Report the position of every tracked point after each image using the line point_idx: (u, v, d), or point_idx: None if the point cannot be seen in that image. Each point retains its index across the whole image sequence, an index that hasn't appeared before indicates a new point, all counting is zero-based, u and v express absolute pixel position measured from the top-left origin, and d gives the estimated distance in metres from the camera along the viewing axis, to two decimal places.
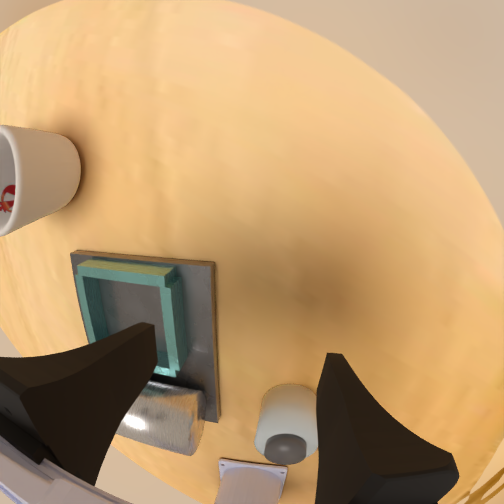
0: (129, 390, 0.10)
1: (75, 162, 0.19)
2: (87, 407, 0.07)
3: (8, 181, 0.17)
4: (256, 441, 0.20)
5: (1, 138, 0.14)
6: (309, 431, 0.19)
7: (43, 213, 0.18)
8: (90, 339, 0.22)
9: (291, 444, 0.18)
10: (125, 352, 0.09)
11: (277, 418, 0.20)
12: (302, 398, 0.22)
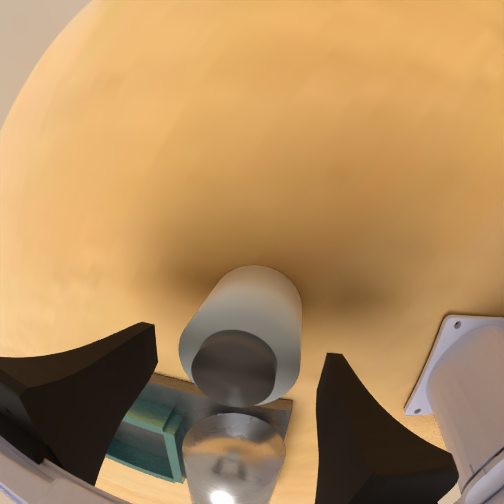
0: (129, 390, 0.10)
1: None
2: (87, 407, 0.07)
3: None
4: None
5: None
6: (189, 323, 0.11)
7: None
8: (163, 478, 0.19)
9: (193, 364, 0.10)
10: (125, 352, 0.09)
11: None
12: None
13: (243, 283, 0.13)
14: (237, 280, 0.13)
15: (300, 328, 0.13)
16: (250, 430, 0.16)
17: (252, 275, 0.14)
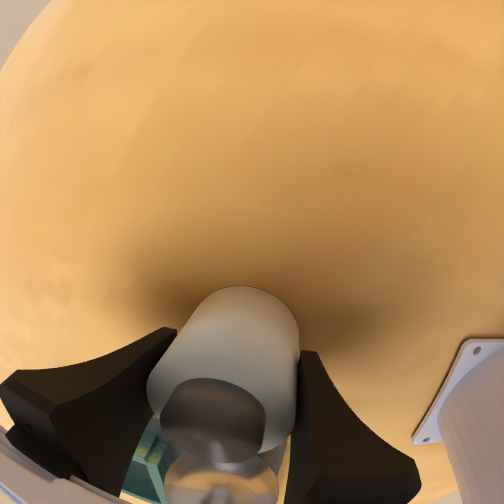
0: None
1: None
2: (114, 418, 0.07)
3: None
4: None
5: None
6: (155, 366, 0.08)
7: None
8: (150, 502, 0.16)
9: (162, 417, 0.08)
10: (150, 359, 0.09)
11: None
12: None
13: (225, 313, 0.10)
14: (218, 309, 0.11)
15: (296, 368, 0.10)
16: (240, 465, 0.13)
17: (237, 301, 0.11)
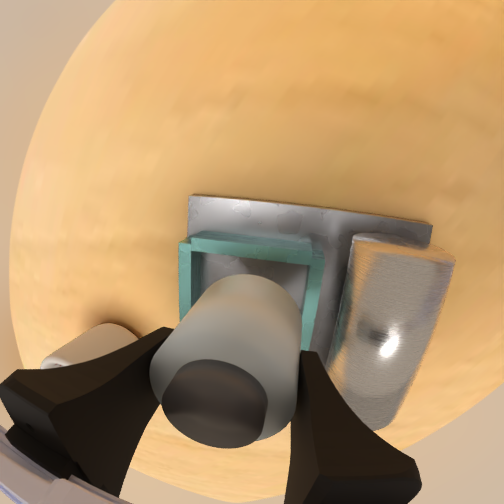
0: (152, 397, 0.10)
1: (104, 325, 0.22)
2: (113, 418, 0.07)
3: None
4: None
5: None
6: (163, 344, 0.09)
7: None
8: None
9: (164, 396, 0.08)
10: (150, 359, 0.09)
11: None
12: None
13: (236, 298, 0.10)
14: (229, 294, 0.11)
15: (299, 359, 0.10)
16: (406, 240, 0.16)
17: (248, 289, 0.11)
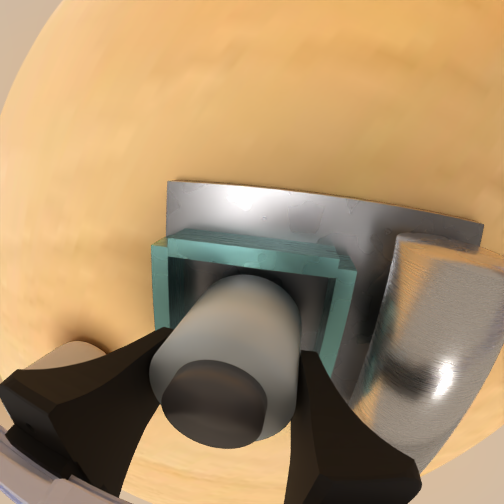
0: (152, 397, 0.10)
1: (73, 344, 0.17)
2: (114, 418, 0.07)
3: None
4: None
5: None
6: (163, 344, 0.09)
7: None
8: None
9: (164, 396, 0.08)
10: (150, 359, 0.09)
11: None
12: None
13: (236, 299, 0.10)
14: (229, 294, 0.11)
15: (299, 360, 0.10)
16: (459, 243, 0.11)
17: (248, 289, 0.11)
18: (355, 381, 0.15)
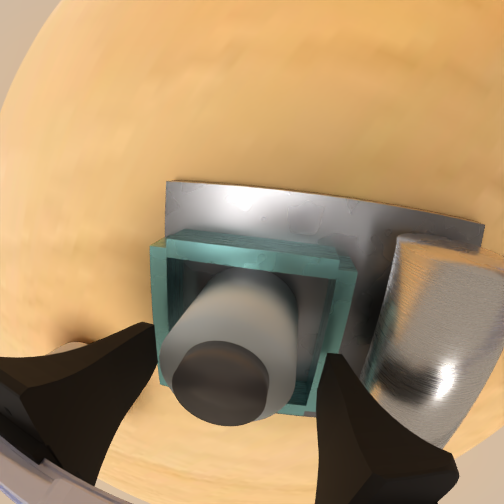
0: (129, 390, 0.10)
1: (72, 345, 0.17)
2: (87, 407, 0.07)
3: None
4: None
5: None
6: (173, 328, 0.10)
7: None
8: (283, 411, 0.14)
9: (175, 376, 0.09)
10: (125, 352, 0.09)
11: None
12: None
13: (238, 287, 0.11)
14: (232, 283, 0.12)
15: None
16: (460, 244, 0.11)
17: (249, 278, 0.12)
18: None
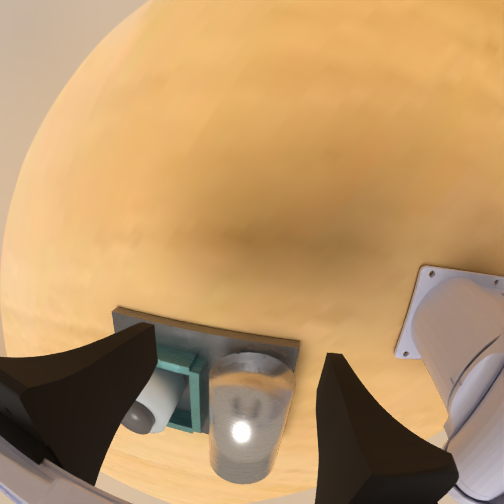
0: (129, 390, 0.10)
1: None
2: (87, 407, 0.07)
3: None
4: None
5: None
6: None
7: None
8: (181, 429, 0.24)
9: None
10: (125, 352, 0.09)
11: None
12: None
13: None
14: None
15: (173, 400, 0.21)
16: (265, 364, 0.21)
17: None
18: None
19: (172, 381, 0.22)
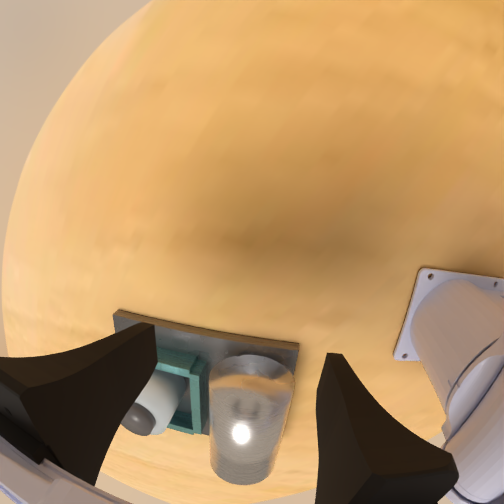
0: (129, 390, 0.10)
1: None
2: (87, 407, 0.07)
3: None
4: None
5: None
6: None
7: None
8: (182, 430, 0.24)
9: None
10: (125, 352, 0.09)
11: None
12: None
13: None
14: None
15: (174, 402, 0.22)
16: (265, 367, 0.21)
17: None
18: None
19: (173, 383, 0.23)
